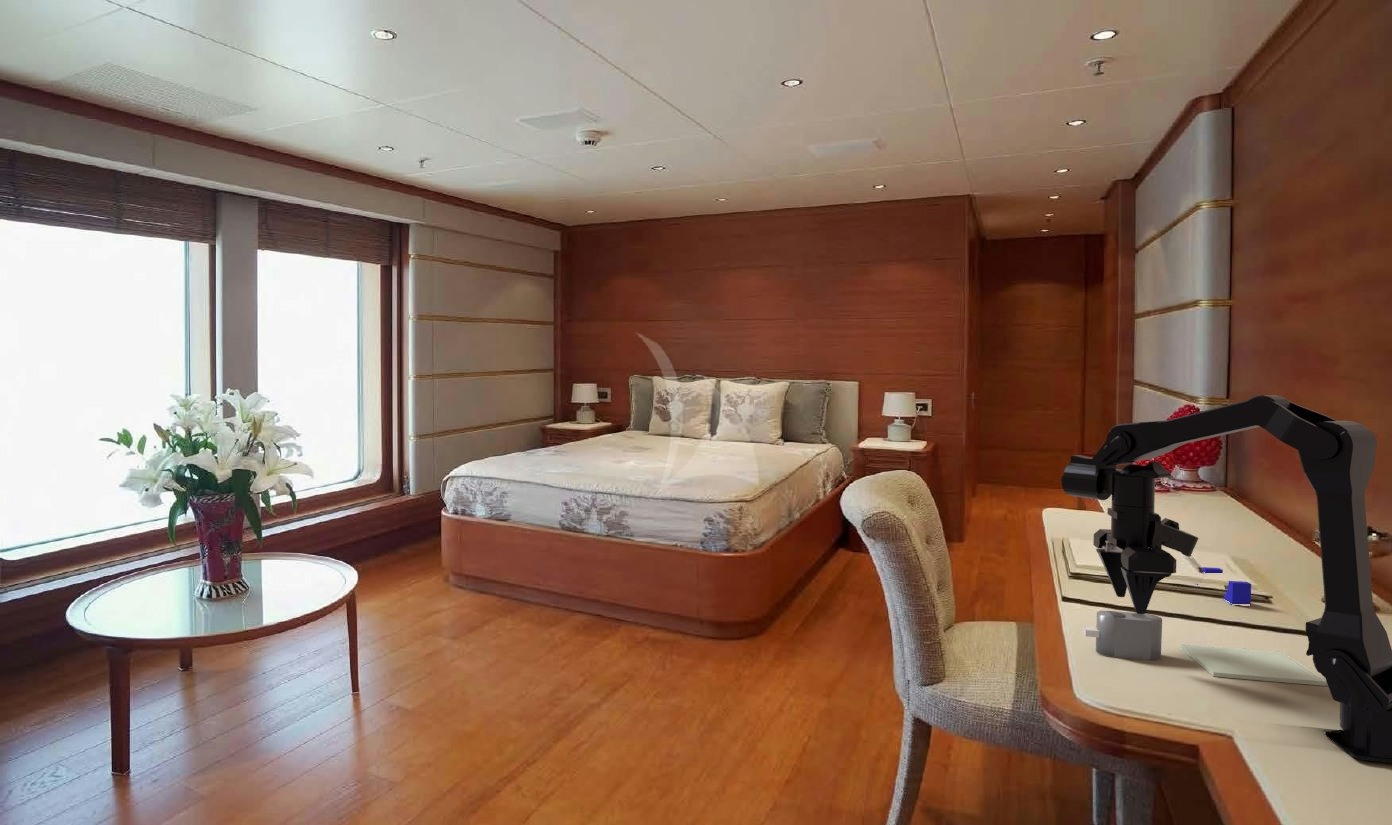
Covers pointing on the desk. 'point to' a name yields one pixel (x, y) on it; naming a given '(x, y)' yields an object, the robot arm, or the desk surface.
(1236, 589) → the blue blocks
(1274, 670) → the sage pad
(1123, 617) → the rounded connector
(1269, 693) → the desk surface
